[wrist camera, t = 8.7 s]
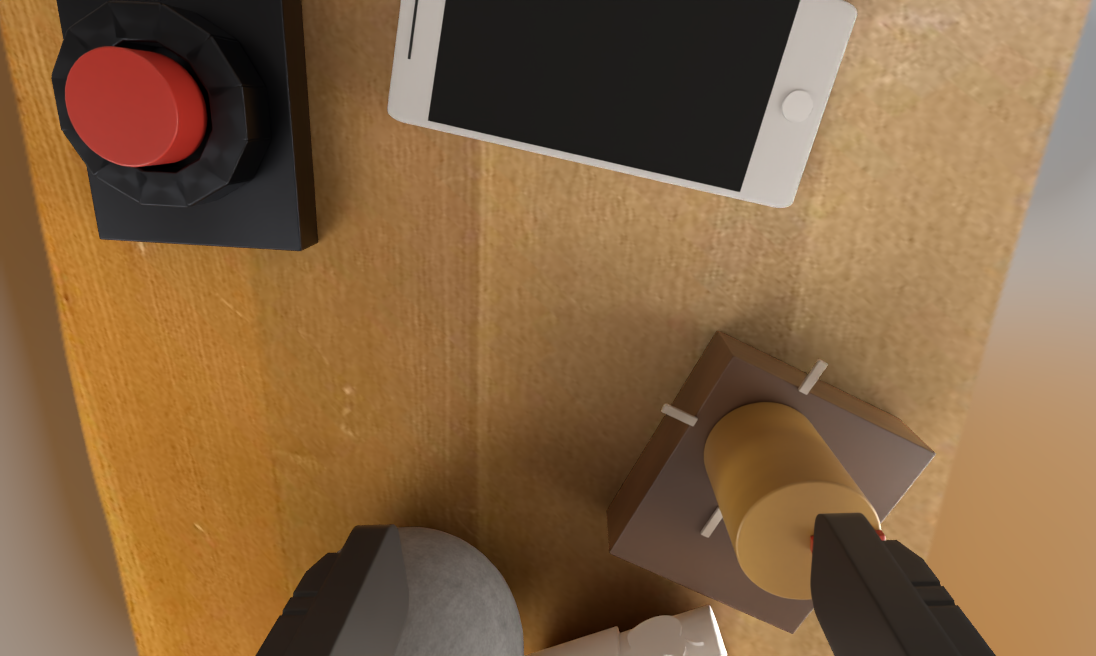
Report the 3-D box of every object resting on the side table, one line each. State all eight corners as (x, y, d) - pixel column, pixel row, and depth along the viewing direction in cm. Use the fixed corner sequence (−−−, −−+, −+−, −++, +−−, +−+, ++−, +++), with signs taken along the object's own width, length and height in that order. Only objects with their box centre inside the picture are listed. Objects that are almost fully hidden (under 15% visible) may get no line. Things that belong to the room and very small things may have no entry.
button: (94, 48, 21) (53, 42, 19) (201, 54, 21) (168, 48, 19) (113, 160, 22) (75, 164, 20) (214, 166, 22) (184, 170, 20)
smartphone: (783, 208, 24) (791, 212, 24) (392, 118, 24) (384, 118, 23) (851, 8, 22) (862, 3, 21) (419, -95, 22) (413, -104, 21)
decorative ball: (288, 549, 31) (159, 740, 22) (443, 444, 29) (374, 606, 19) (420, 679, 33) (356, 904, 24) (573, 592, 31) (569, 802, 21)
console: (705, 289, 26) (722, 311, 23) (918, 394, 27) (960, 429, 24) (581, 500, 29) (580, 543, 26) (773, 585, 30) (794, 637, 27)
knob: (706, 505, 26) (741, 612, 20) (699, 407, 24) (734, 493, 19) (818, 495, 25) (885, 602, 20) (818, 395, 24) (889, 479, 18)
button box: (83, -41, 23) (-1, -68, 20) (299, -32, 23) (251, -57, 19) (128, 231, 26) (63, 248, 23) (318, 243, 26) (280, 261, 23)
